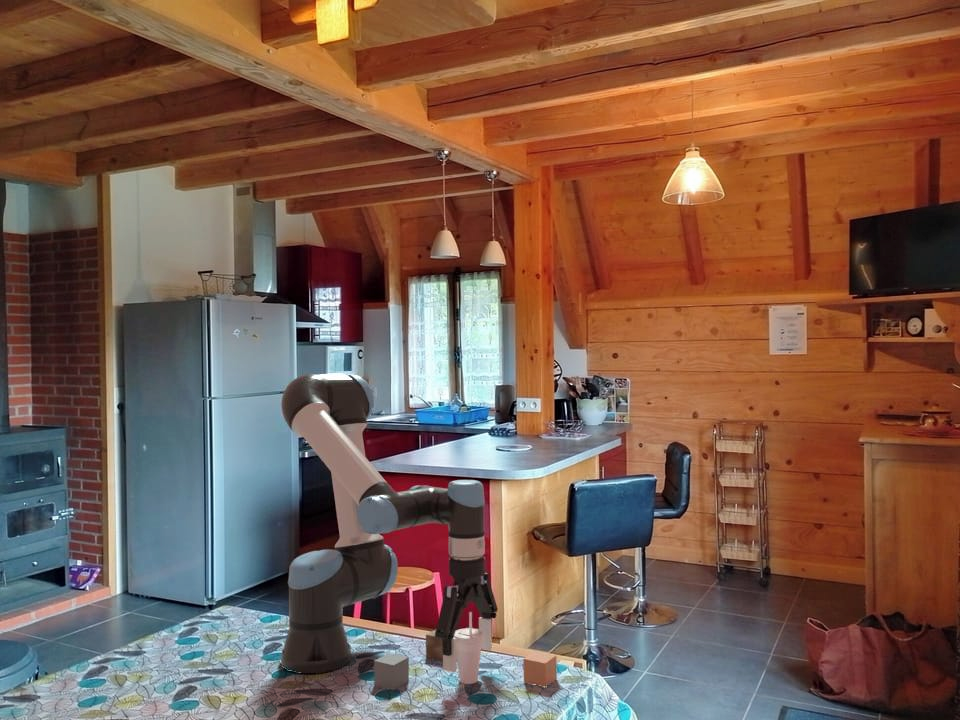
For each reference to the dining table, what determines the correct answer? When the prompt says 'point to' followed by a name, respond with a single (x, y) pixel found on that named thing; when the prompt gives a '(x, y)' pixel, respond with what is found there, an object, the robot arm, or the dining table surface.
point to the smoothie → (468, 652)
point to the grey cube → (391, 671)
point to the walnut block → (434, 646)
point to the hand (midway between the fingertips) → (468, 659)
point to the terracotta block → (540, 668)
